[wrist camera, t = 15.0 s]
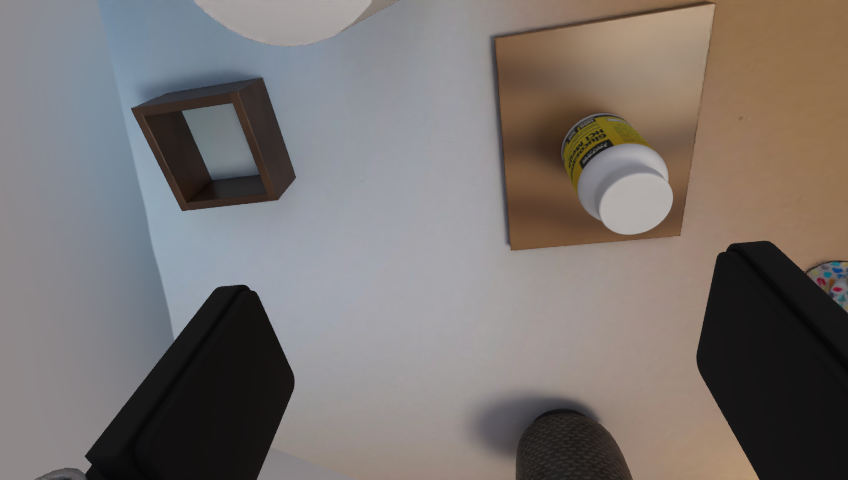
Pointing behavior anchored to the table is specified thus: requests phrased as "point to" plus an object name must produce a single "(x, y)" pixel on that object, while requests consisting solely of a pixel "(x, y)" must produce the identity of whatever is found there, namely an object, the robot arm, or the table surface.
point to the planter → (569, 450)
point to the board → (597, 112)
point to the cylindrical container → (290, 18)
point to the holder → (184, 158)
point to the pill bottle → (617, 174)
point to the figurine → (833, 280)
